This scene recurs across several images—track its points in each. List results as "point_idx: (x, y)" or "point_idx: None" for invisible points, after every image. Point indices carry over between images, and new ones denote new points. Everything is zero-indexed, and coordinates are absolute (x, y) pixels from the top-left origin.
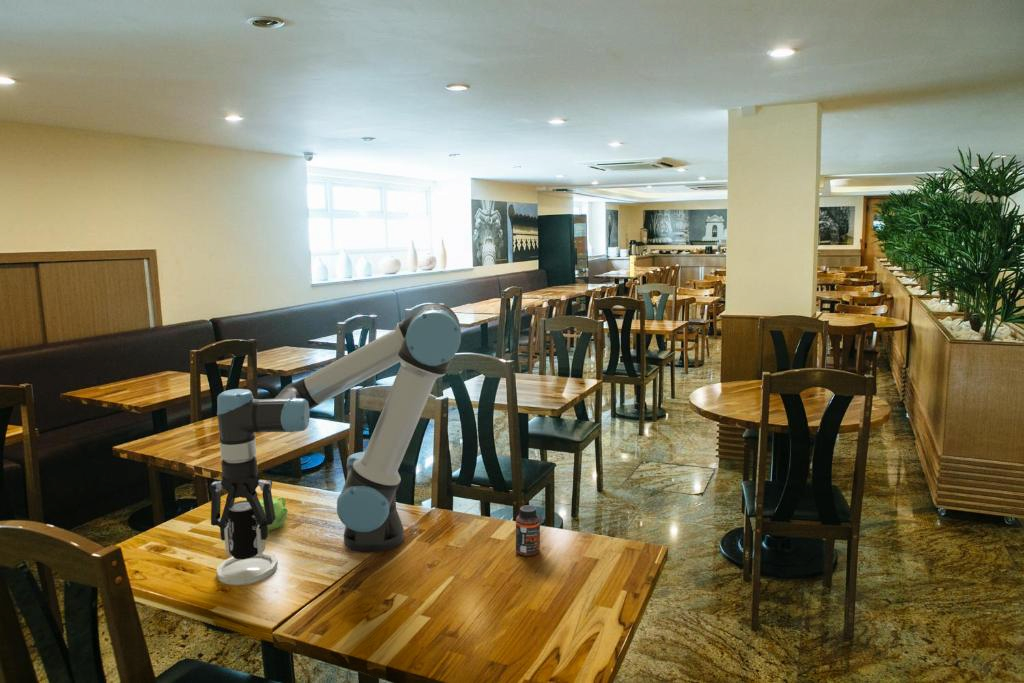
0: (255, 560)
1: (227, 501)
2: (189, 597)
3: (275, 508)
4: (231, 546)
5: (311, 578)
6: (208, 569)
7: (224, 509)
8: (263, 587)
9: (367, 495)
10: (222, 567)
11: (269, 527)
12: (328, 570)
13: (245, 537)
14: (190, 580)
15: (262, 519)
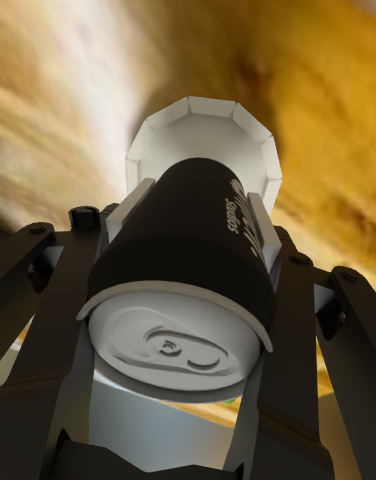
0: None
1: (302, 430)
2: (363, 29)
3: None
4: (239, 187)
5: (23, 112)
6: (300, 209)
7: (309, 343)
8: (134, 73)
9: None
10: (265, 189)
11: None
12: (4, 151)
13: (171, 182)
14: (350, 157)
15: (65, 246)
